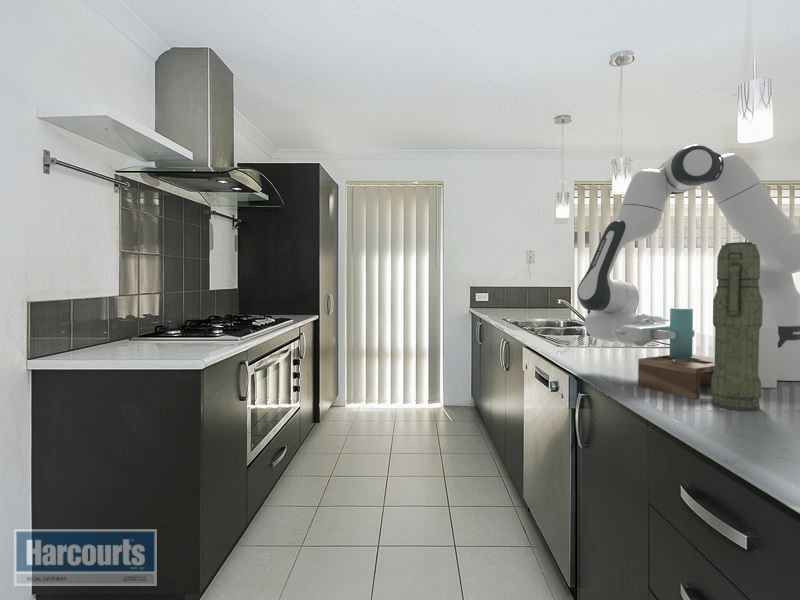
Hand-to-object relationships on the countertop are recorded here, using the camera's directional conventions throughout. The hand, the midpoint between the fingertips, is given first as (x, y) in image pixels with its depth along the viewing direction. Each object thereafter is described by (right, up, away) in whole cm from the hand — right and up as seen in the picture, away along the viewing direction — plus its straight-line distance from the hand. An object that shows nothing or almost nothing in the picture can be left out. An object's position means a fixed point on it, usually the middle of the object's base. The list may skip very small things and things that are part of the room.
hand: (684, 334), depth 124 cm
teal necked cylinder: (0, -10, +1) cm, 10 cm away
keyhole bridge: (+1, -13, -1) cm, 13 cm away
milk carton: (+18, -13, +2) cm, 23 cm away
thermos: (+1, -14, -17) cm, 22 cm away
